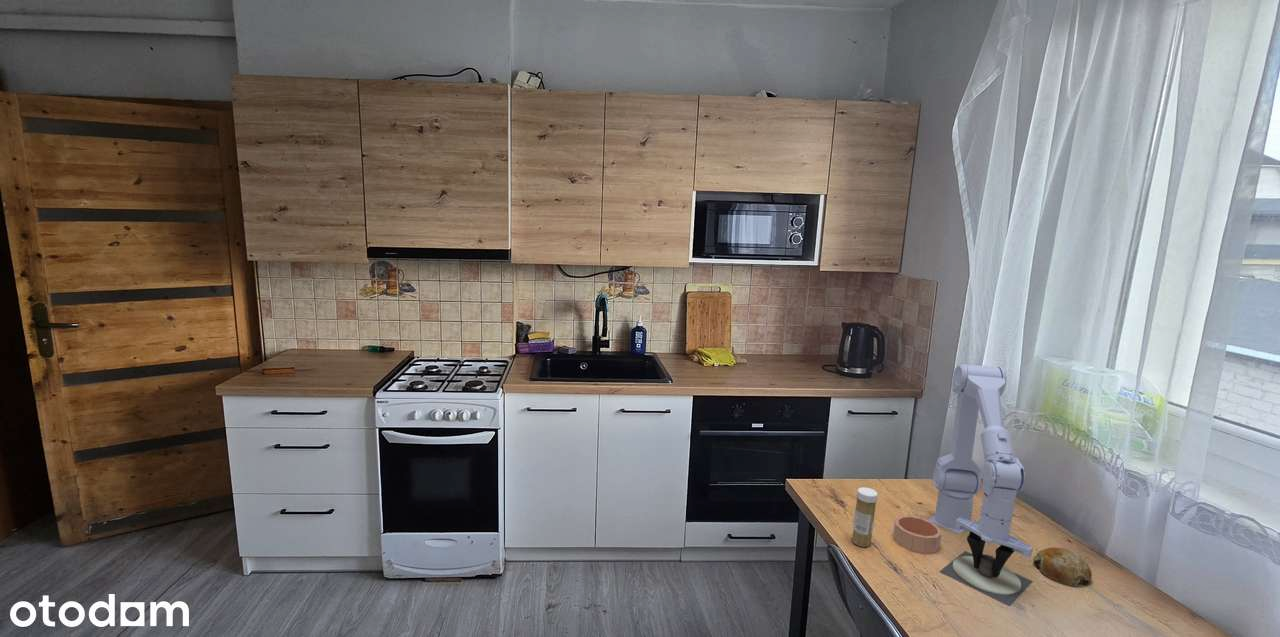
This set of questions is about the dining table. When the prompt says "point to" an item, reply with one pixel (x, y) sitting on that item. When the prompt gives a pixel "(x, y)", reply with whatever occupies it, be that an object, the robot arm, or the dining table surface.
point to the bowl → (917, 534)
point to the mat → (1004, 599)
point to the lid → (986, 575)
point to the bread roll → (1063, 567)
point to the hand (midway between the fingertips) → (986, 570)
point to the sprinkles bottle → (864, 517)
